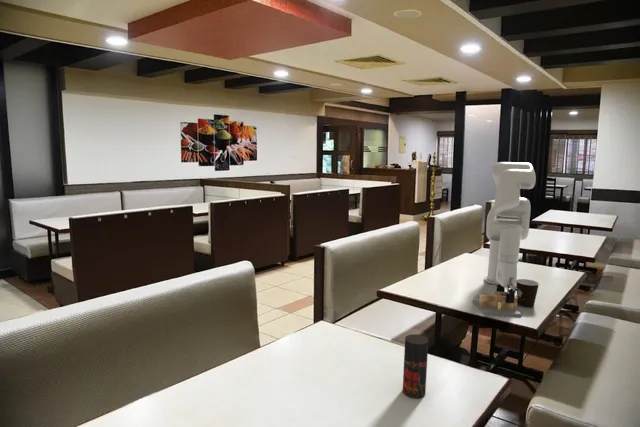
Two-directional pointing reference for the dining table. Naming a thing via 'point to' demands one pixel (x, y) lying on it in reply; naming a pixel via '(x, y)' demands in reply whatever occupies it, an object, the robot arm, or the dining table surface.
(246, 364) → the dining table surface
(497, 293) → the tan wooden block
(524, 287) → the coffee mug
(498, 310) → the stop pin
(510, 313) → the board
